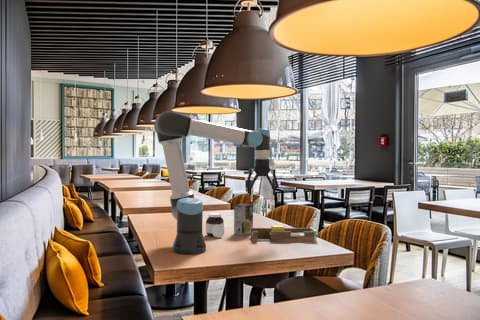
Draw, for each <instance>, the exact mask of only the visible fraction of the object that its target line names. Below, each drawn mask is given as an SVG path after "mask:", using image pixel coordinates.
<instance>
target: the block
mask: <svg viewBox="0 0 480 320" xmlns="http://www.w3.org/2000/svg"><path fill="white" fill-rule="evenodd" d="M270 228H271V231H284V228H285V226H284V225H283V224H271V227H270Z"/></svg>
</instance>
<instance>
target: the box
mask: <svg viewBox="0 0 480 320" xmlns="http://www.w3.org/2000/svg"><path fill="white" fill-rule="evenodd" d="M317 233H318V231H317V230H316V229H315V228H314V227H313V226H310V227H284V231H271V227H253V228H251V234H250V239H251V241H252V242H253V243H256V242H257V243H258V242H276V243H277V242H278V243H279V242H283V243H285V242H286V243H287V242H290V243H292V242H293V243H294V242H295V243H297V242H300V243H303V242H304V243H305V242H307V243H308V242H310V243H311V242H315V243H317Z"/></svg>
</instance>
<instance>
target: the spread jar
mask: <svg viewBox="0 0 480 320" xmlns="http://www.w3.org/2000/svg"><path fill="white" fill-rule="evenodd" d="M205 233H206V235H208V237H214V238H218V239H221V238H222V237H223V236H224V235H225V221H224V218H223V217H222V213H220V212H209V213H208V218H206V220H205Z"/></svg>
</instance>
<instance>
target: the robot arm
mask: <svg viewBox="0 0 480 320" xmlns="http://www.w3.org/2000/svg"><path fill="white" fill-rule="evenodd" d="M153 125H154V131H155V133H156V135H157V140H158V143H159V144H160V145H161V146H162V150H163V154H164V160H165V164H166V169H167V174H168V179H169V185H170V189H171V195H170V197H169V199H170V205H171V207H170V212H171V215H172V217H174V219H175V221H176V235H175V238H174V241H173V244H172V252H174V254H175V253H176V254H181V255H193V254H194V255H195V254H196V255H197V254H202V253H205V252H206V250H207V244H206V242H205V241H206V240H205V238H204V235H203V217H204V216H203V215H204V213H203V212H204V211H203V210H204V206H203V202H202V200H201V199H199V198H195V195H194V192H193V191H191V190H190V186H189V185H190V184H189V180H188V175H187V171H186V166H185V165H186V164H185V160H184V155H183V151H182V150H183V149H182V145H181V141H182V140H183V137H186V138H187V137H189V136H192V137H198V138H204V139H210V140H213V141H220V142H225V143H231V144H232V145H233V146H234V147H236V148H237V147H238V148H254V150H255V151H254V168H249V169H248V175H247V178H246V183H245V187H244V188H247V189H248V195H249V196H250V202H251V203H253V202H254V200H253V199H254V195H253V194H254V191H253V190H254V189H253V186H254V185H255V183H256V181H257V180H258V178H259V177H264V178H266V179H267V181H268V183H269V186H271V188H270V202H271V203H273V202H274V196H275V195H276V189H279V183H278V179H277V176H276V169H274V168H272V169H271V168H270V157H271V155H270V154H271V153H270V152H271V150H270V146H271V145H270V144H271V131H270V129H269V128H256V129H255V130H250V129H249V130H248V129H244V128H239V127H234V126H229V125H224V124H221V123H214V122H210V121H206V120H201V119H195V118H193V117H192V116H191V115H187V114H183V113H180V112H176V111H173V110H166V111H164V112H162V113H160V114H159V115H158V116H156V119H155V120H154V124H153ZM270 172H271V174H272V177H273V181H274V183H273V181H272V179H271V178H270V176H269V173H270ZM253 173H255V175H254V178H253V179H252V181H251V177H252V174H253ZM250 182H251V183H250Z"/></svg>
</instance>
